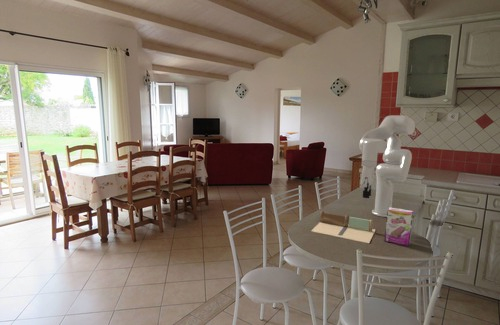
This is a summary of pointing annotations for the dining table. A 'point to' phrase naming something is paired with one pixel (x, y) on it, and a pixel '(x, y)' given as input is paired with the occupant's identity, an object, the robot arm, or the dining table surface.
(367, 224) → the hinged panel
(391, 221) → the candy bar box
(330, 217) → the fence base
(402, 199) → the dining table surface
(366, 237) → the card
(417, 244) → the dining table surface
